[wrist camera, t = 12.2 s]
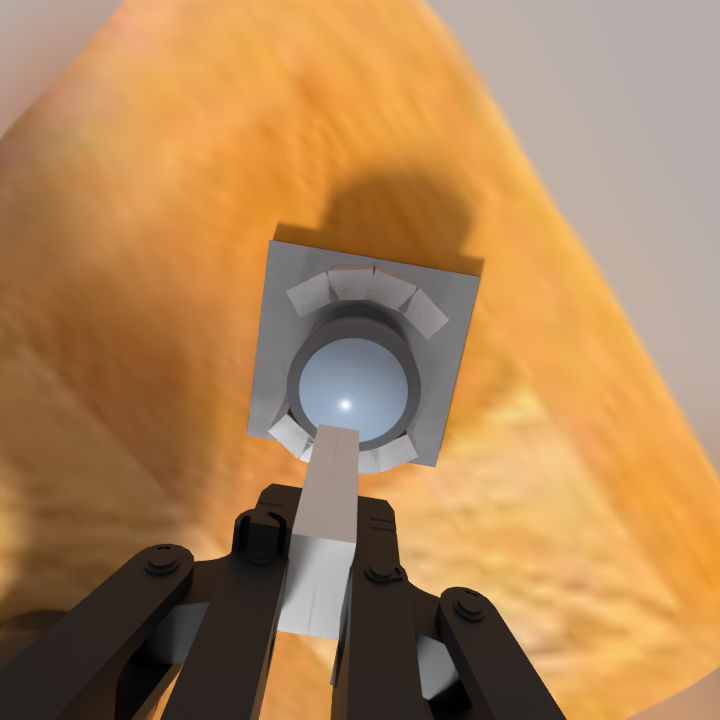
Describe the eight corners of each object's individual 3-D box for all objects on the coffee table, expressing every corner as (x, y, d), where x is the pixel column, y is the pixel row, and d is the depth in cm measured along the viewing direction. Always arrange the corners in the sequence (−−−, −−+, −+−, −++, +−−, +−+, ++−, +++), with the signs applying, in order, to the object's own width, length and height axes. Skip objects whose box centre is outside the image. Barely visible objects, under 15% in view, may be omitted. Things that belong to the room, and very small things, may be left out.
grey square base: (433, 461, 33) (443, 497, 28) (249, 430, 32) (230, 461, 28) (477, 276, 29) (495, 283, 25) (272, 239, 29) (254, 240, 25)
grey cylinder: (296, 401, 31) (277, 442, 25) (311, 297, 29) (295, 313, 23) (400, 419, 31) (407, 464, 25) (422, 316, 29) (434, 338, 23)
